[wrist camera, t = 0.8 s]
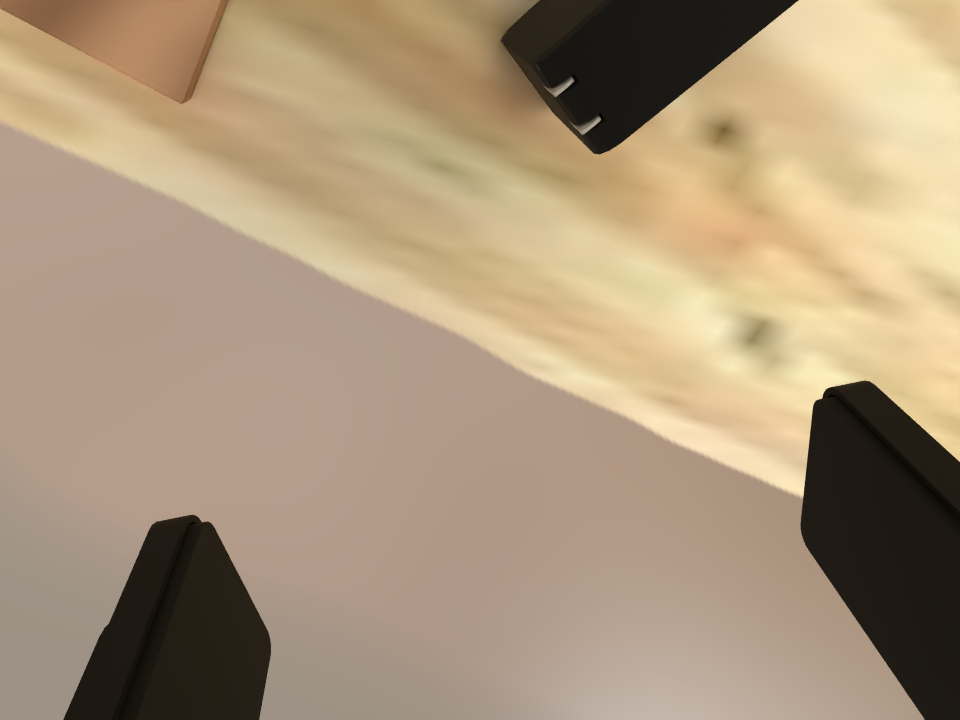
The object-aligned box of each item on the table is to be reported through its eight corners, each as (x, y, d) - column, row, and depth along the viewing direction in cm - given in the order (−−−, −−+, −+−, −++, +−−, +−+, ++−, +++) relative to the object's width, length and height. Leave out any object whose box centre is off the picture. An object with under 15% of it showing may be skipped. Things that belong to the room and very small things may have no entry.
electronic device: (727, -40, 31) (852, -40, 22) (550, 109, 33) (601, 161, 25) (680, -129, 29) (798, -166, 20) (497, 37, 32) (533, 66, 23)
